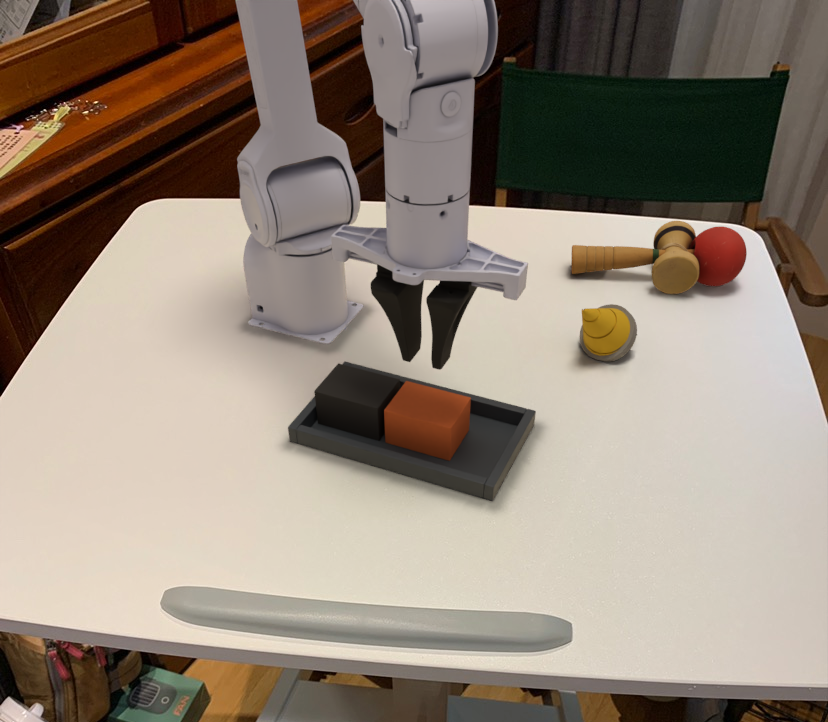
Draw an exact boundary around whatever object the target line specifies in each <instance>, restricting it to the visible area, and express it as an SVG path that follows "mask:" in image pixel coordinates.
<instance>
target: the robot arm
mask: <svg viewBox="0 0 828 722" xmlns="http://www.w3.org/2000/svg"><path fill="white" fill-rule="evenodd" d="M352 1H353V3H354V4H355V7H356V8H357V10H358V12H359V13H360V15H361V17H362V18H363V24H361V26H360V29H361V31H360V32H361V39H362V40H361V41H362V47H363V51H364V57H365V60H366V64H367V66H368V67H367V68H368V69H369V72H370V73H369V74H370V76H371V80H372V89H373V90H372V91H373V104H374V105H375V110H376V114H377V116H379V117H380V118H381V119H382V121H383V122H382V124H383V157H384V158H383V159H384V160H383V161H384V187H385V191H384V192H385V217H386V218H385V222H386V223H385V224H386V227H373V226H371V227H370V226H369V227H368V226H356V225H353V224H354V223H356V221H357V219H358V216H359V213H360V209H361V192H360V186H359V183H358V179H357V176H356V173H355V171H354V168H353V167H352V162H351V158H350V154H349V149H348V146H347V143H346V141H345V139H343V138H342V137H341V136H340V135H338V134H337V133H336V132H334V131H332V130H331V129H329V128H327V127H325V126H324V125H323V124H321V123H319V122H318V118H317V117H318V116H317V112H316V107H315V106H316V105H315V100H314V95H313V94H314V93H313V87H312V83H311V76H310V75H311V74H310V70H309V63H308V58H307V51H306V45H305V39H304V33H303V27H302V21H301V15H300V10H299V2H298V0H235V5H236V10H237V15H238V21H239V24H240V30H241V35H242V40H243V44H244V45H243V46H244V49H245V54H246V59H247V65H248V69H249V74H250V80H251V83H252V88H253V93H254V98H255V103H256V109H257V113H258V118H259V125H260V126H259V128H258V130H257V131H256V132H255V133H254V135H253V136H252V138H250V140H249V142H248V143H247V144H246V145H245V146H244V147H243V149H242V150H241V151H240V153H239V155H238V156H237V158H236V161H237V165H236V166H237V173H238V179H239V199H240V200H239V201H240V205H241V210H242V214H243V217H244V221H245V223H246V225H247V228H248V231H249V232H250V235H249V236H248V237H247V239H246V242H245V246H244V250H243V260H242V262H243V263H242V265H243V273H244V278H245V279H244V280H245V284H246V290H247V291H246V292H247V298H248V303H249V307H250V313H251V314H250V315H251V318H250V319H249V320H248V321H247V324H248V325H249V326H251V327H255V328H258V329H263V330H267V331H271V332H275V333H279V334H282V335H286V336H289V337H294V338H299V339H302V340H305V341H310V342H314V343H316V344H317V343H318V344H322V345H331V344H332V343H333V342H334V341H335V340H336V339H337V338H338V337H339V336H340V335H341V333H342V332H343V331H344V330H346V328H347V327H348V326H349V325H350V323H351V322H353V320H354V319H355V318H356V317H357V316H358V315H359V313H360V312H361V311H362V310H363V309H364V304H363V303H359V302H355V301H351V300H348V294H347V281H346V266H345V265H346V264H345V263H346V262H348V261H349V260H353V261H359V262H363V263H367V264H372V265H376V272H375V277H374V278H373V279H372V280H371V282H370V292H371V296H373V297H374V299H375V300H376V302H377V303H378V304H379V305H380V307H381V308H382V311H383V312H384V314H385V315H386V317H387V320H388V321H389V323H390V325H391V328H392V330H393V333H394V336H395V338H396V339H395V340H396V341H397V343H398V348H399V352H400V355H401V359H402V361H404V362H407V363H411V362H412V360H413V359H414V358H415V357H416V355H418V353H419V352H420V350H421V347H422V336H423V334H422V332H423V331H422V329H423V328H422V302H423V292H424V285H425V281H435V282H436V281H439V283H438V284H436V285H435V287H433V289H432V290H431V291H430V292H429V294H428V295H427V296H426V299H425V302H426V306H427V309H428V313H429V319H430V325H431V339H432V340H431V354H430V355H431V357H430V359H431V365H432V369H435V370H440V371H441V370H442V369H443V368H444V366H445V365H446V363H447V362H448V361H449V359H450V358H451V354H452V349H453V344H454V341H455V338H456V334H457V331H458V328H459V325H460V323H461V320H462V318H463V316H464V313H465V312H466V310H467V307H468V305H469V304H470V301H471V300H472V298H473V296H474V294H475V292H476V291H477V289H478V288H482V289H485V290H489V291H495V292H500V293H503V294H502V296H503V298H504V299H508V300H513V301H518V300H519V298H520V297H521V295H522V294H523V292H524V290H525V289H526V287H527V278H528V270H529V269H528V268H529V263H528V262H526V261H523V260H519V259H515V258H511V257H509V256H506V255H504V254H501V253H499V252H497V251H494V250H492V249H490V248H488V247H485V246H484V245H481V244H478V243H476V242H474V241H471V240H469V239H468V238H469V236H468V235H469V218H470V195H471V194H470V193H471V192H470V191H471V175H472V174H471V173H472V155H473V153H472V152H473V135H474V134H473V131H474V130H473V129H474V111H475V108H474V107H475V87H476V86H475V85H476V80H475V79H474V78H476V77H480V76H482V75H484V74H485V73H487V71H488V70H489V69H490V67H491V65H492V64H493V60H494V57H495V55H496V50H497V45H498V38H499V37H498V36H499V25H498V24H499V23H498V11H497V7H496V2H495V0H352Z"/></svg>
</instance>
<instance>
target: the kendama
mask: <svg viewBox="0 0 828 722" xmlns="http://www.w3.org/2000/svg"><path fill="white" fill-rule="evenodd" d="M652 243H653V248H649V247H638V246H625V245H624V246H623V245H621V246H619V245H618V246H617V245H616V246H612V245H605V246H604V245H583V244H582V245H581V244H580V245H579V244H573V245H572V246H571V266H570V267H571V270H570V271H571V272H570V273H571V274H572V275H578V274H584V273H594V272H603V271H612V270H624V269H633V268H639V267H643V266H649V265H652V267H651V281H652V284H653V286H654V288H655V289H656V290H658V291H659V292H662V293H664V294H666V295H679V294H682V293H685V292H688V290H690V289H691V288H693V287H694V286H695V285H696V284H697V283H699V284H700V285H703V286H707V287H721V286H724V285H727V284H729V283H731V282H733V281H734V280H735V279H736V278H737V277H738V276H739V275H740V273H741V272H742V270H743V269H744V266H745V263H746V260H747V245H746V242H745V240H744V238H743V236H741V234H740V233H739V232H737V231H736V230H735V229H732V228H730V227H727V226H712V227H710V228H706V229H704V230H703V231H701V232H700V233H699V234H697V235H696V231H695V229H694V227H693V226H692V225H691V224H689V223H688V222H686V221H683V220H671V221H669V222H668V221H667V222H666V223H664V224H663V225H661V226H660V227H659V228H658V229H657V230H656V232H655V234H654V237H653V242H652Z"/></svg>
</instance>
